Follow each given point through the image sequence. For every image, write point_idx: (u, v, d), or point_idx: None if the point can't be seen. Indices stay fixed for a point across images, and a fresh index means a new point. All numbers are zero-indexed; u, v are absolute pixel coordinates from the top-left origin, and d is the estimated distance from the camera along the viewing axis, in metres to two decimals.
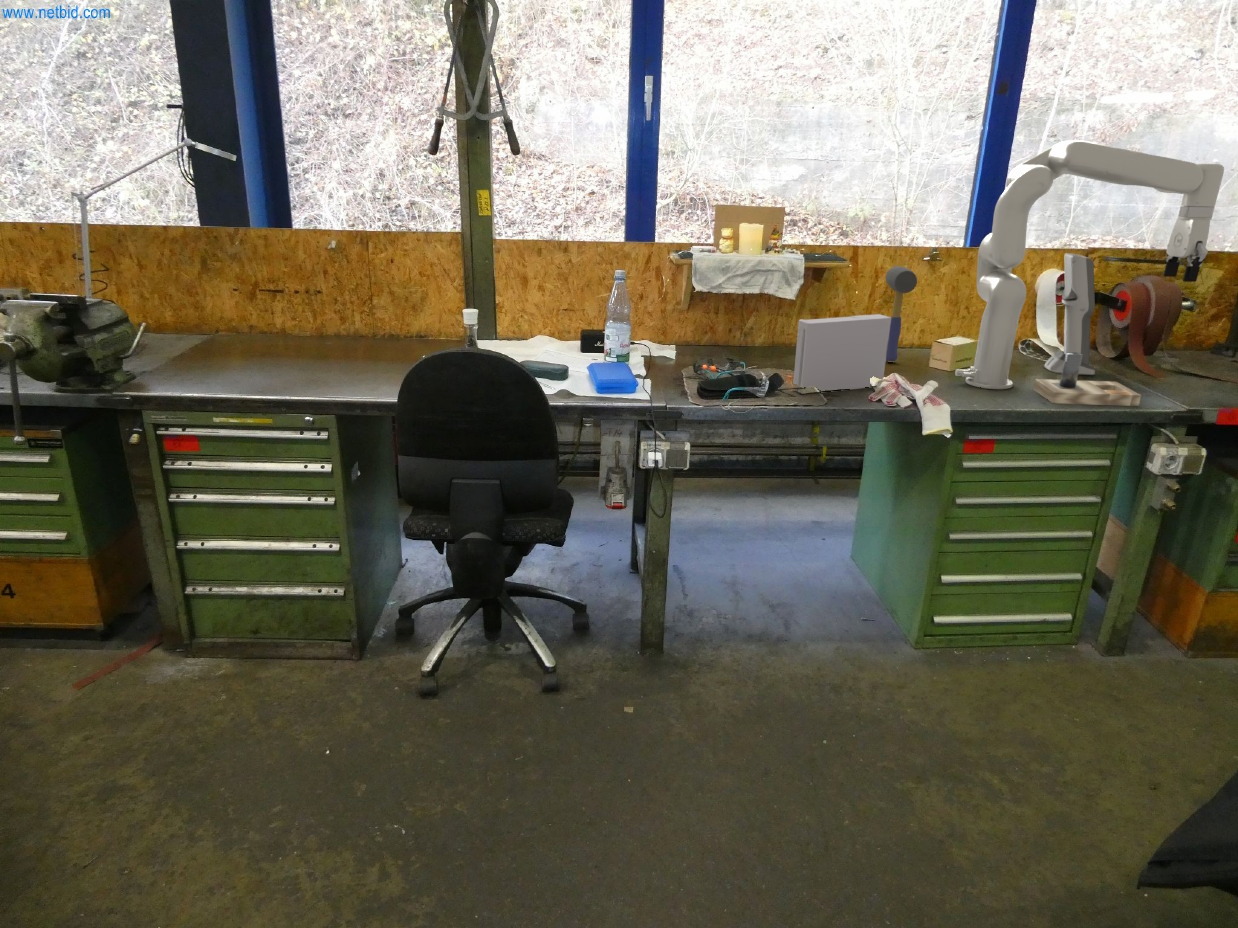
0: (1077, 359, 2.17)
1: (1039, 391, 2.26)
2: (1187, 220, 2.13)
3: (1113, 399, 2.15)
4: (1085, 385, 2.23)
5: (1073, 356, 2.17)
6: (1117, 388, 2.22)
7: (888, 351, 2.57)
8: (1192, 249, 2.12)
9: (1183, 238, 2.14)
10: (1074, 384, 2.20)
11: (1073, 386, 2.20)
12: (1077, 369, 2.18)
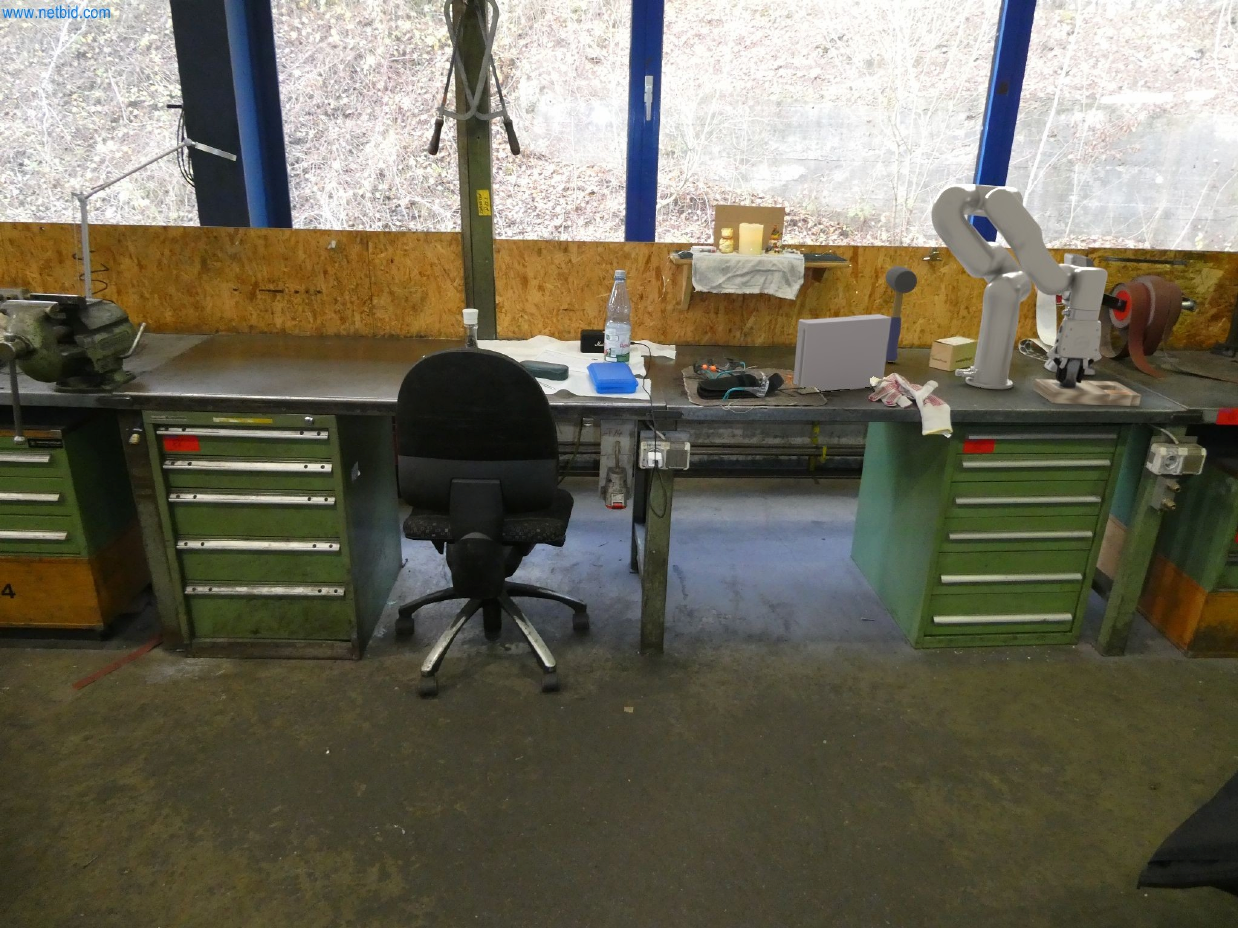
0: (1077, 359, 2.17)
1: (1039, 391, 2.26)
2: (1092, 323, 2.13)
3: (1113, 399, 2.15)
4: (1085, 385, 2.23)
5: None
6: (1117, 388, 2.22)
7: (888, 351, 2.57)
8: None
9: (1091, 340, 2.14)
10: (1074, 384, 2.20)
11: (1073, 386, 2.20)
12: (1077, 369, 2.18)
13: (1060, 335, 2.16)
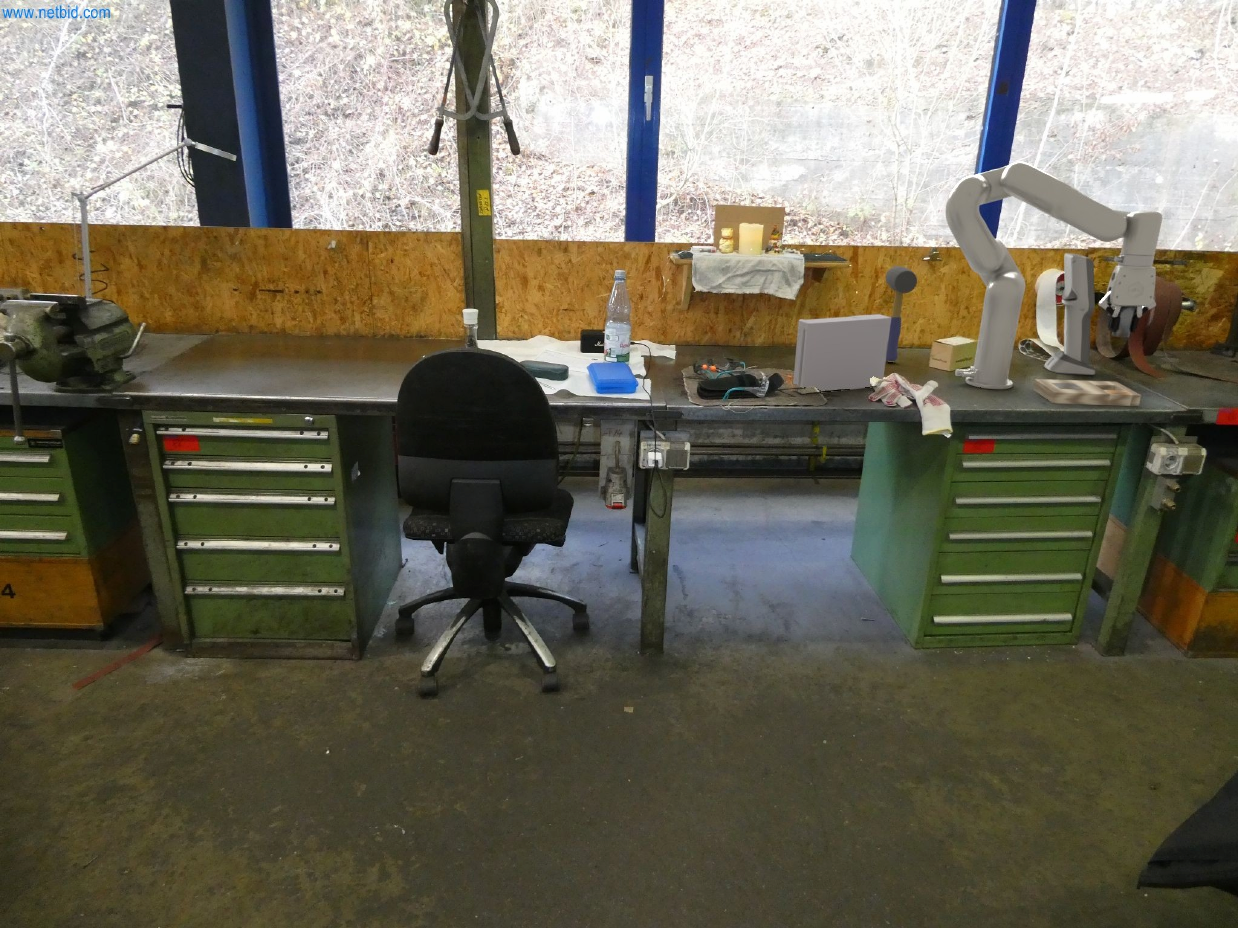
0: (1131, 307, 2.11)
1: (1039, 391, 2.26)
2: (1146, 269, 2.07)
3: (1113, 399, 2.15)
4: (1085, 385, 2.23)
5: None
6: (1117, 388, 2.22)
7: (888, 351, 2.57)
8: None
9: (1145, 287, 2.08)
10: (1128, 333, 2.14)
11: (1127, 335, 2.14)
12: (1131, 318, 2.12)
13: (1113, 283, 2.10)
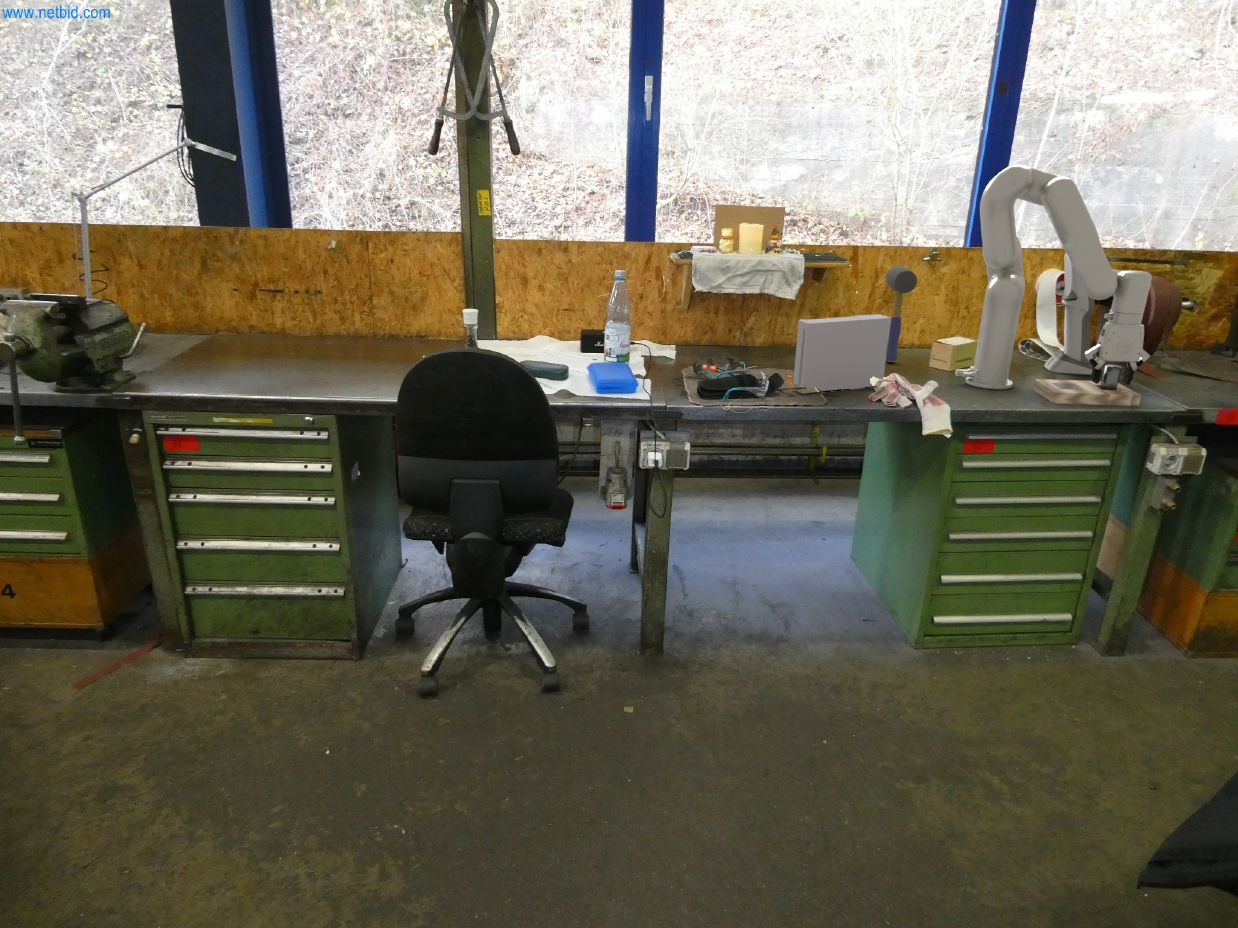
0: (1116, 372, 2.17)
1: (1039, 391, 2.26)
2: (1135, 326, 2.12)
3: (1113, 399, 2.15)
4: (1085, 385, 2.23)
5: (1112, 368, 2.17)
6: (1117, 388, 2.22)
7: (888, 351, 2.57)
8: None
9: (1134, 344, 2.14)
10: None
11: None
12: (1116, 381, 2.18)
13: (1102, 338, 2.16)
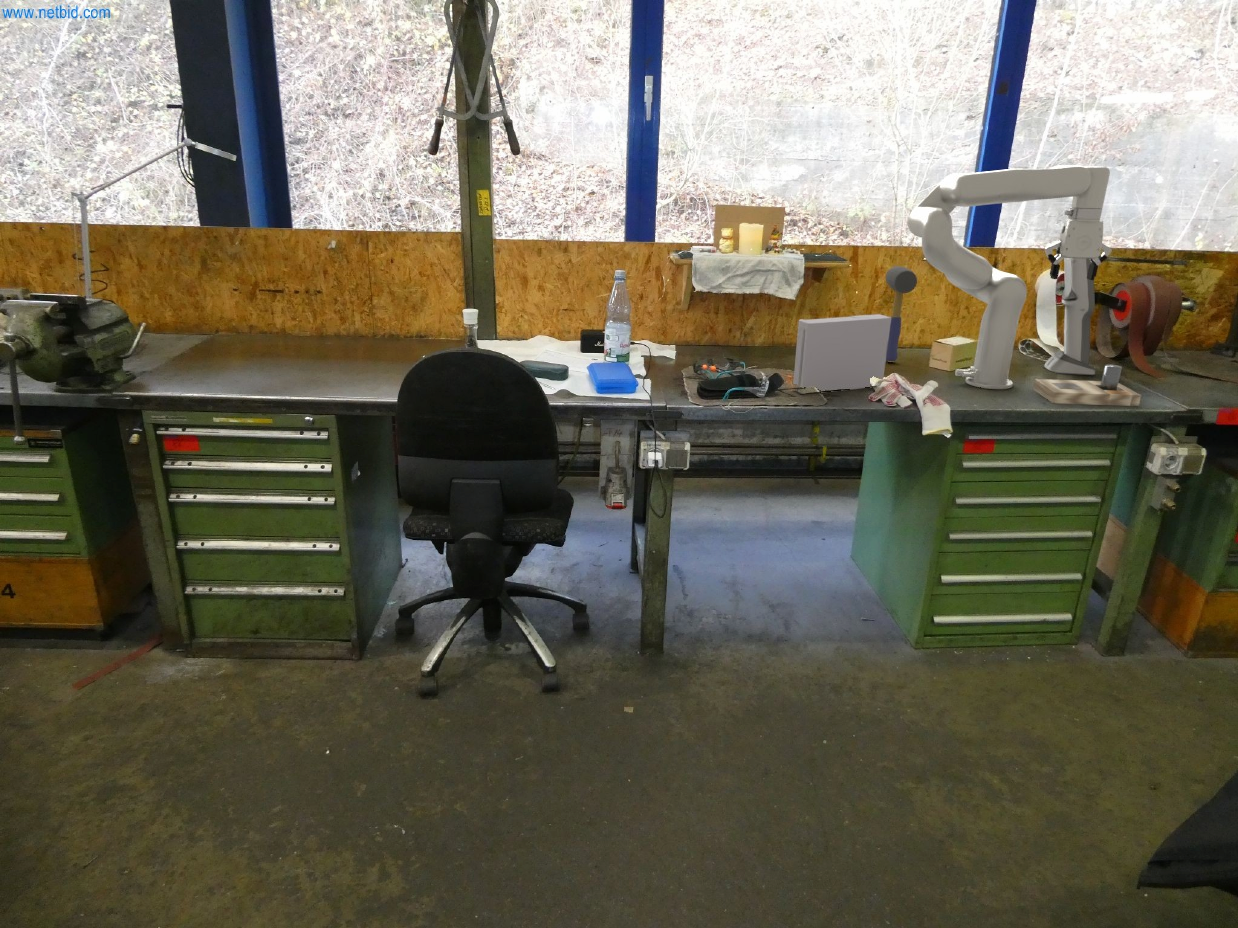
0: (1116, 372, 2.17)
1: (1039, 391, 2.26)
2: (1094, 222, 2.16)
3: (1113, 399, 2.15)
4: (1085, 385, 2.23)
5: (1112, 369, 2.17)
6: (1117, 388, 2.22)
7: (888, 351, 2.57)
8: None
9: (1093, 239, 2.17)
10: None
11: None
12: (1116, 382, 2.18)
13: (1063, 235, 2.19)
